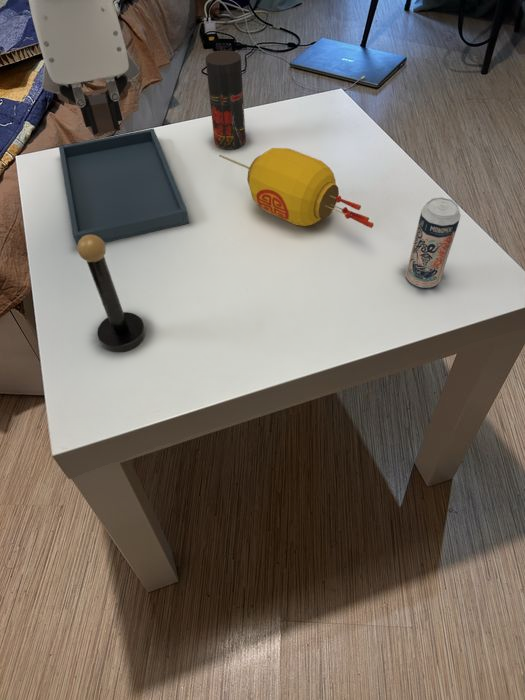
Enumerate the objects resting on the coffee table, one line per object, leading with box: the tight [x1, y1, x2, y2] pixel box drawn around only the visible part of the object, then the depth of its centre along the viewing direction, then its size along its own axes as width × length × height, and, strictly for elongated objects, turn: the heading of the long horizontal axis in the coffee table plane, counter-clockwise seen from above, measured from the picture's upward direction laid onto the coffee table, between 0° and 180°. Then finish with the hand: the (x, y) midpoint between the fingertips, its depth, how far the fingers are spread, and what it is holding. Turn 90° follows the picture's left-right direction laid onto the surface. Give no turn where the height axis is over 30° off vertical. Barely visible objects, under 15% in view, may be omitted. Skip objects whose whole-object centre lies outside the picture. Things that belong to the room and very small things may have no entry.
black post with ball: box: [76, 234, 146, 353], centre depth 63 cm, size 6×6×16 cm
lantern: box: [218, 147, 375, 229], centre depth 81 cm, size 10×10×30 cm
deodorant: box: [205, 49, 247, 151], centre depth 94 cm, size 6×6×15 cm
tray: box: [58, 128, 190, 246], centre depth 90 cm, size 18×28×2 cm, turn 18°
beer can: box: [405, 196, 462, 289], centre depth 69 cm, size 5×5×12 cm
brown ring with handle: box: [56, 76, 132, 135], centre depth 78 cm, size 20×11×4 cm, turn 19°
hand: (105, 127), depth 74 cm, fingers closed on brown ring with handle, 2 cm apart
